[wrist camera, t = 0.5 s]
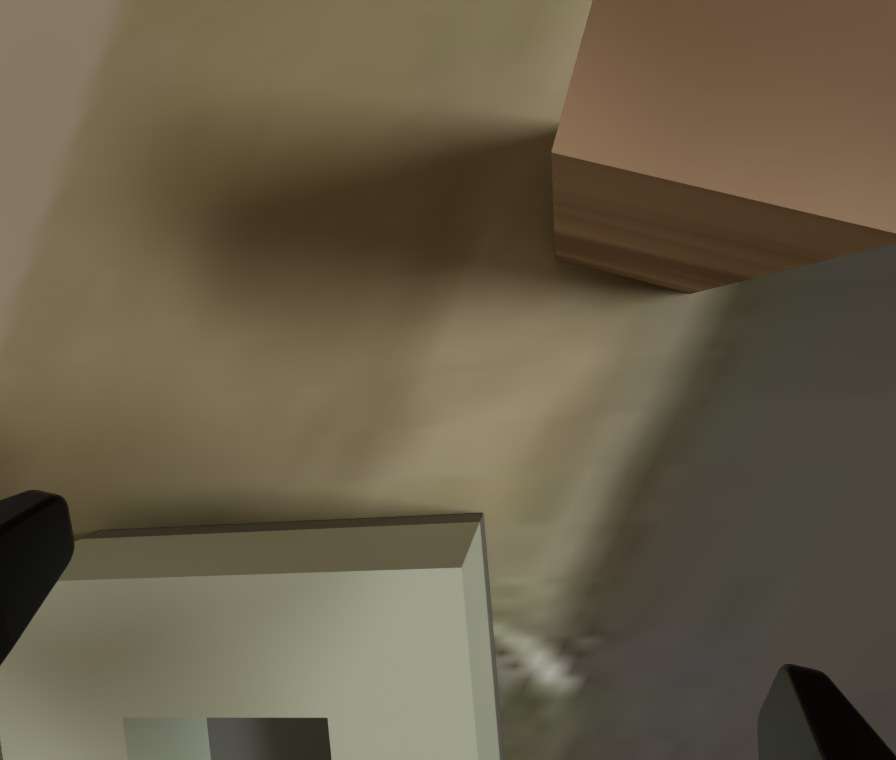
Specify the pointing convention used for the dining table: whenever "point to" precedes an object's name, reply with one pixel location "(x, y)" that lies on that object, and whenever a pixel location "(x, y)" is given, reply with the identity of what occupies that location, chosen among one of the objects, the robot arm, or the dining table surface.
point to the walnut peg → (726, 138)
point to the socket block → (262, 646)
